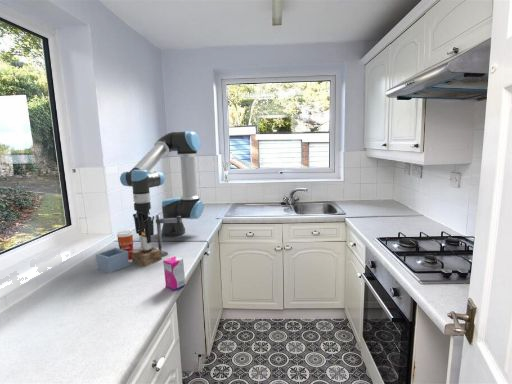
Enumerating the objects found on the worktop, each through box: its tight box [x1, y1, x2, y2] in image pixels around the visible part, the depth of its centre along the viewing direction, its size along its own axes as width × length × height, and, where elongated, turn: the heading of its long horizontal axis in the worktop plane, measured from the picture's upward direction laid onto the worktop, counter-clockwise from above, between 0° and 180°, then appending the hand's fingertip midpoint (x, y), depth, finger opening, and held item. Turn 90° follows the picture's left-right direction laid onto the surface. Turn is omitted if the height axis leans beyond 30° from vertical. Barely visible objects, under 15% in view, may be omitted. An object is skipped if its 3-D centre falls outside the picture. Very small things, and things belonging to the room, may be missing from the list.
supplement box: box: [162, 256, 186, 292], centre depth 119 cm, size 6×6×12 cm
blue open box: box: [95, 247, 130, 274], centre depth 141 cm, size 10×10×7 cm
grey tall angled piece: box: [155, 214, 181, 253], centre depth 153 cm, size 13×2×20 cm, turn 92°
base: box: [162, 250, 169, 258], centre depth 154 cm, size 5×5×1 cm
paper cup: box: [116, 229, 134, 261], centre depth 150 cm, size 8×8×14 cm
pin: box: [141, 230, 150, 253], centre depth 146 cm, size 3×3×15 cm
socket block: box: [131, 246, 163, 267], centre depth 147 cm, size 10×10×5 cm
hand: (146, 248), depth 146 cm, fingers closed on pin, 3 cm apart
